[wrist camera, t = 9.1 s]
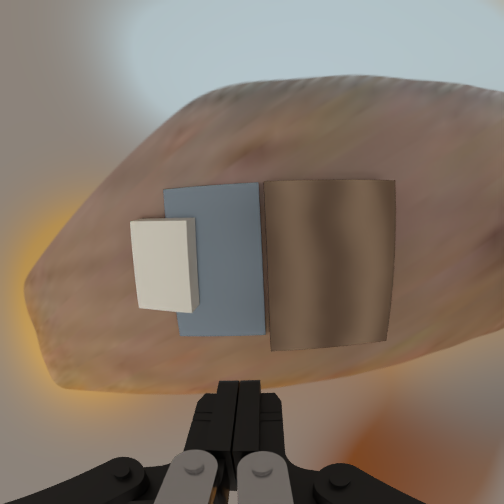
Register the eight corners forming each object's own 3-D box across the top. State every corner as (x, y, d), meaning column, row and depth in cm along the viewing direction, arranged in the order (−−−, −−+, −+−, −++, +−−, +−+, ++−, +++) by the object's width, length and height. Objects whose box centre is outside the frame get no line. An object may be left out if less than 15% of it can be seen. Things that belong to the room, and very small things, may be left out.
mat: (258, 182, 29) (258, 182, 29) (265, 333, 33) (265, 334, 32) (164, 189, 30) (163, 189, 29) (180, 334, 33) (180, 335, 32)
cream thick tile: (130, 221, 28) (141, 218, 30) (138, 307, 30) (149, 299, 32) (186, 220, 27) (194, 217, 29) (192, 313, 29) (199, 304, 31)
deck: (379, 180, 29) (395, 180, 25) (374, 324, 32) (386, 340, 28) (263, 182, 29) (263, 181, 25) (269, 332, 33) (270, 351, 29)
